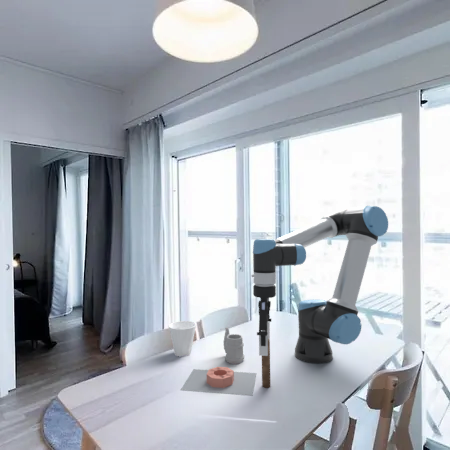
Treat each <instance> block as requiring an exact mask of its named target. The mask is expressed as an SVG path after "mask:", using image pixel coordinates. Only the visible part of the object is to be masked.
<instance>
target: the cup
mask: <svg viewBox="0 0 450 450" xmlns="http://www.w3.org/2000/svg"><path fill="white" fill-rule="evenodd" d="M196 326H197V323H196V322H194V321H189V320H180V321H174V322H172V323H169V325H168V329H169V334H170V338H171V342H172V347H173V352H174V355H175V356H176V357H178V356H179V357H180V358H182V357H185V356H187V357H188V356H190V355H191V354H192V349H193V343H194V339H195V332H196V328H197V327H196ZM179 357H178V358H179Z"/></svg>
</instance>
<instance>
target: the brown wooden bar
mask: <svg viewBox="0 0 450 450" xmlns="http://www.w3.org/2000/svg"><path fill="white" fill-rule="evenodd" d="M270 339H271V338H270ZM270 339H268V356H261V386H262V388H263V389H268V388H271V341H270Z"/></svg>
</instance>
